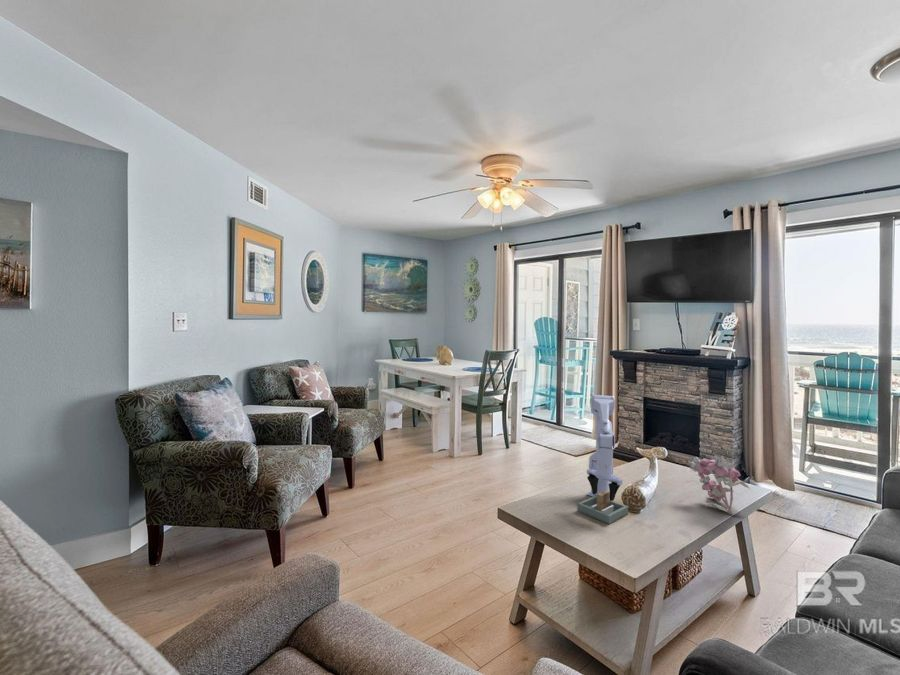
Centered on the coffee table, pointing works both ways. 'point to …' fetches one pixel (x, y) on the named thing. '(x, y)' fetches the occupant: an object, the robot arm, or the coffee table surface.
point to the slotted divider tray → (605, 515)
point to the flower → (717, 478)
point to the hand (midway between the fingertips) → (603, 496)
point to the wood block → (603, 500)
